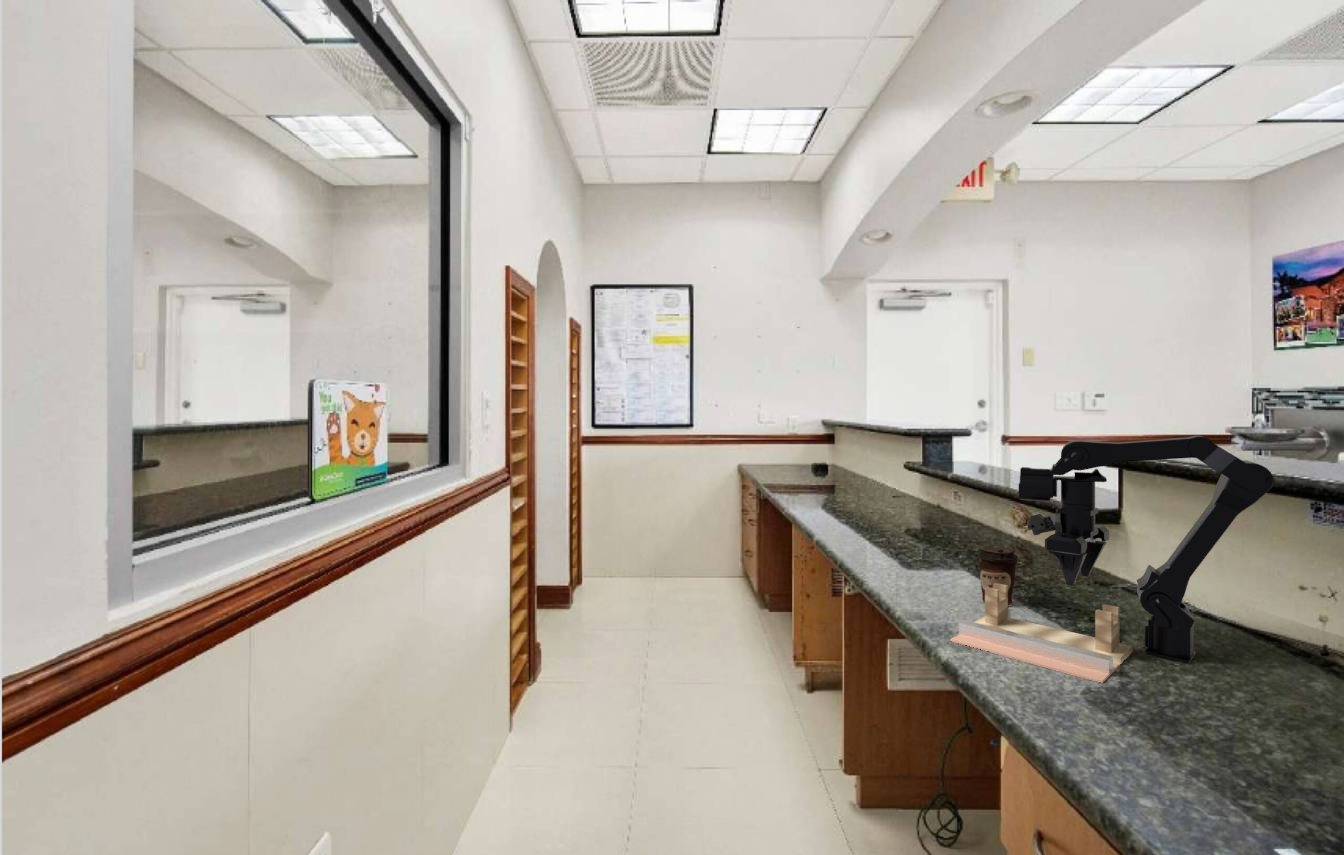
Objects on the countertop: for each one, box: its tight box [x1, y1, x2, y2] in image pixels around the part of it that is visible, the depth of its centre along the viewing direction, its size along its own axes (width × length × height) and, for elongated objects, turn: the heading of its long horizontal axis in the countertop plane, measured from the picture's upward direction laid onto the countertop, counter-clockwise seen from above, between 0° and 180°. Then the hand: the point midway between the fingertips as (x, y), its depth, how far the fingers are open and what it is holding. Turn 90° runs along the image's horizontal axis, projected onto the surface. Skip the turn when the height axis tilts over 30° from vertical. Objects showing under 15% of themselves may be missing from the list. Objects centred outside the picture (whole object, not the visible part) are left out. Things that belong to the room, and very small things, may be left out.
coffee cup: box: [977, 546, 1019, 607], centre depth 146 cm, size 9×8×13 cm
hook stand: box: [973, 583, 1133, 665], centre depth 124 cm, size 26×8×9 cm, turn 41°
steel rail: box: [958, 619, 1113, 674], centre depth 118 cm, size 26×2×2 cm, turn 41°
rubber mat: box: [949, 633, 1120, 684], centre depth 118 cm, size 26×10×1 cm, turn 41°
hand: (1077, 580), depth 123 cm, fingers open, 9 cm apart
